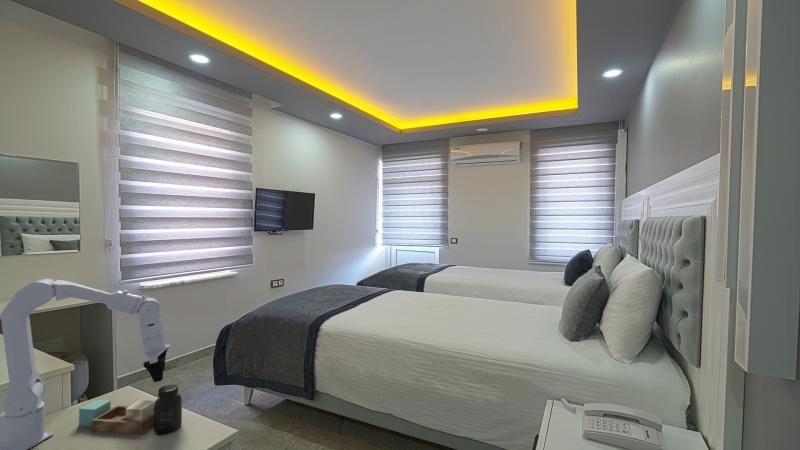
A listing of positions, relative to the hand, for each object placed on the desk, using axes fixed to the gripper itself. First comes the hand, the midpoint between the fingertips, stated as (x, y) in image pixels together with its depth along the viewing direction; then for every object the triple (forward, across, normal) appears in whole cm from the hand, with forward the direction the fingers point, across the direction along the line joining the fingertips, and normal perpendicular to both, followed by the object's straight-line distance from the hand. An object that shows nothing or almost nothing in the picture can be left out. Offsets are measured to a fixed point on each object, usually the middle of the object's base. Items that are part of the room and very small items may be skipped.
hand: (159, 376), depth 110 cm
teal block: (+8, +1, +17) cm, 19 cm away
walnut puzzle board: (+9, -6, +8) cm, 14 cm away
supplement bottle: (+11, -14, -2) cm, 18 cm away
